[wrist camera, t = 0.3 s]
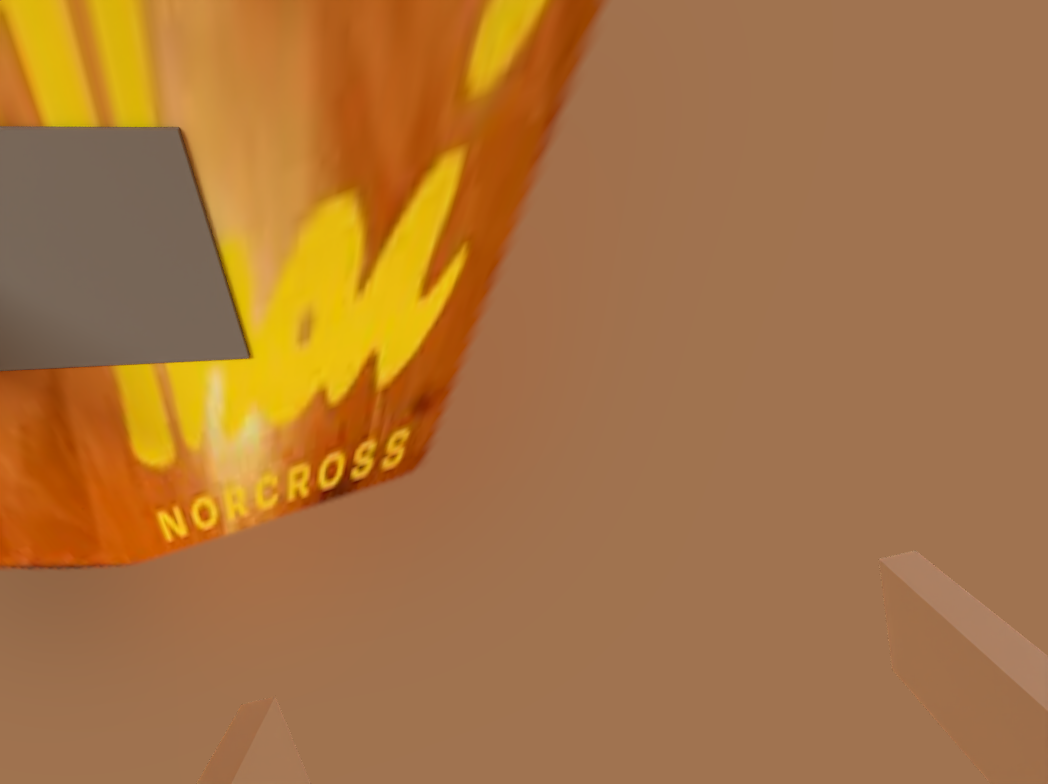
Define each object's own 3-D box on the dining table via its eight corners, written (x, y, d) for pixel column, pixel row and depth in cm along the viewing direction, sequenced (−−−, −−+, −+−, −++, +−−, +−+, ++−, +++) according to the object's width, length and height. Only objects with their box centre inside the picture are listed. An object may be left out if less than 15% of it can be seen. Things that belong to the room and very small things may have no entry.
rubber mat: (-102, 372, 46) (-105, 376, 46) (-316, 124, 34) (-321, 128, 33) (249, 354, 50) (248, 358, 50) (179, 127, 38) (177, 130, 37)
